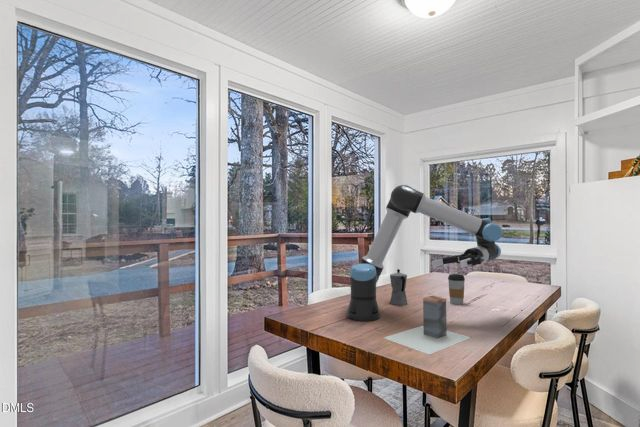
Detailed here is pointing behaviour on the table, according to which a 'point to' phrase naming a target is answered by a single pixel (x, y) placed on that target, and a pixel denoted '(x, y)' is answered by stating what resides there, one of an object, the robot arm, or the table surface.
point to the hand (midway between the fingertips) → (446, 264)
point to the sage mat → (425, 340)
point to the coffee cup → (456, 288)
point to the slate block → (434, 316)
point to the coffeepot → (398, 288)
